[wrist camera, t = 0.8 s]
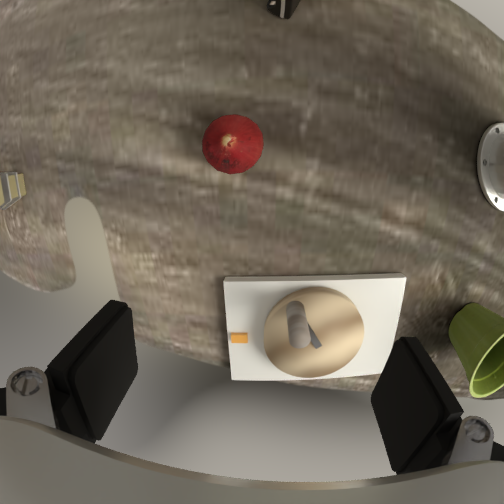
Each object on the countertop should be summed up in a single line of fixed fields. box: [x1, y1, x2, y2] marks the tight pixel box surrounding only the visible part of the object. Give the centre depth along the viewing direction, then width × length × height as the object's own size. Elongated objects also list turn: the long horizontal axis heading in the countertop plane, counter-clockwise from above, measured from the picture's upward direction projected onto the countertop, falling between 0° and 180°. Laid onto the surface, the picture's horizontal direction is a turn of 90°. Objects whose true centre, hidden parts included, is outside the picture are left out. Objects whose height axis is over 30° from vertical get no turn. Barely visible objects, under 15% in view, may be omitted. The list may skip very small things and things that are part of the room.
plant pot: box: [448, 303, 504, 398], centre depth 30 cm, size 12×12×11 cm
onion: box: [202, 115, 264, 174], centre depth 27 cm, size 6×6×8 cm
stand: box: [223, 273, 406, 380], centre depth 36 cm, size 22×15×2 cm
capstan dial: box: [264, 287, 364, 378], centre depth 31 cm, size 12×12×8 cm
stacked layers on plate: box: [0, 172, 26, 210], centre depth 31 cm, size 10×9×6 cm
